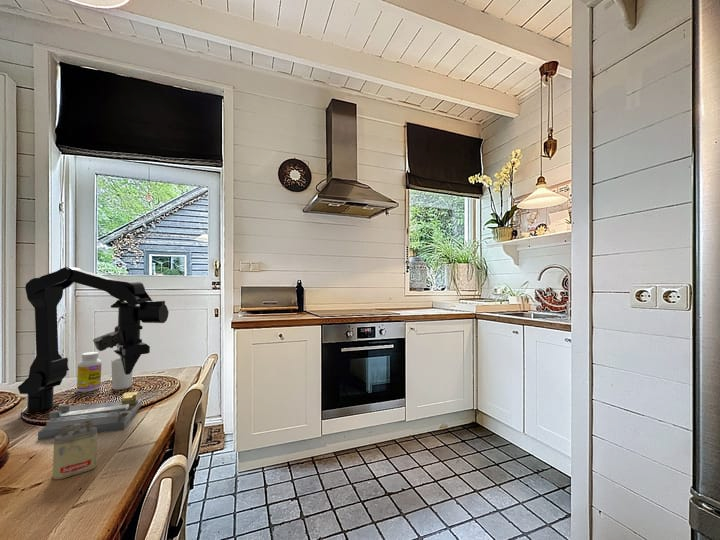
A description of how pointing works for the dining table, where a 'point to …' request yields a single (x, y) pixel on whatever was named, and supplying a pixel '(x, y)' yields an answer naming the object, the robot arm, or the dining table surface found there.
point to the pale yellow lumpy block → (130, 398)
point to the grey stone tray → (100, 421)
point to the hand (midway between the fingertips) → (127, 374)
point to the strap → (95, 411)
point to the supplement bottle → (89, 372)
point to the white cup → (120, 375)
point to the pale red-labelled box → (75, 450)
